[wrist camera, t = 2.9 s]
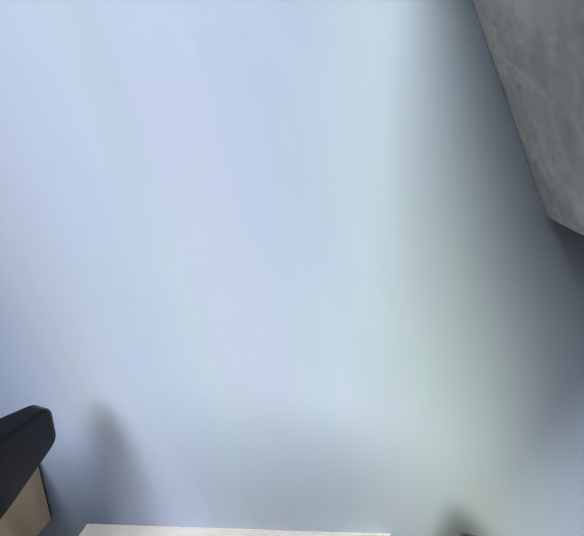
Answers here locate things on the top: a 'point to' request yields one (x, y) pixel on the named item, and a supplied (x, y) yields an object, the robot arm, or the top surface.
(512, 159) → the top surface
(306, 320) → the top surface
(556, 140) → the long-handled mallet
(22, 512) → the u-shaped wooden frame
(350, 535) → the cream block
